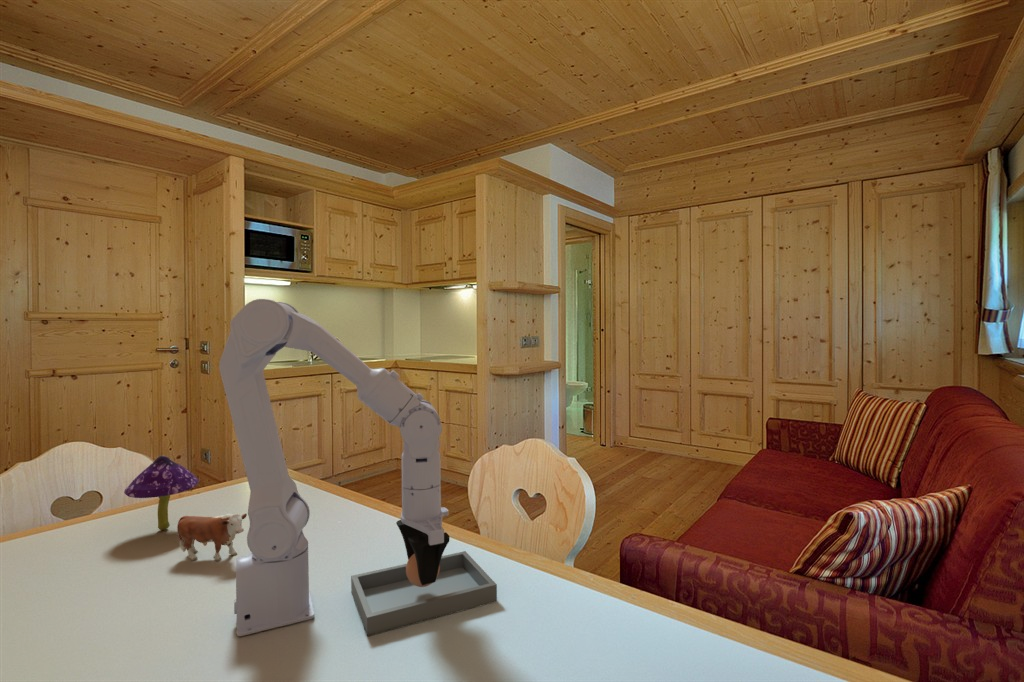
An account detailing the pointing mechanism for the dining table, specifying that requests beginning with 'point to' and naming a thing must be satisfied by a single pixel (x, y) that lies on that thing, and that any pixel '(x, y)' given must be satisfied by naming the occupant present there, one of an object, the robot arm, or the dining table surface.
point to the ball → (414, 572)
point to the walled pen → (420, 594)
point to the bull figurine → (209, 532)
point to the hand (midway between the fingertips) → (422, 574)
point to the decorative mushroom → (161, 485)
